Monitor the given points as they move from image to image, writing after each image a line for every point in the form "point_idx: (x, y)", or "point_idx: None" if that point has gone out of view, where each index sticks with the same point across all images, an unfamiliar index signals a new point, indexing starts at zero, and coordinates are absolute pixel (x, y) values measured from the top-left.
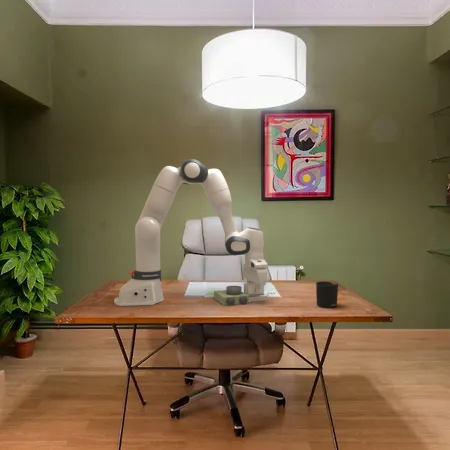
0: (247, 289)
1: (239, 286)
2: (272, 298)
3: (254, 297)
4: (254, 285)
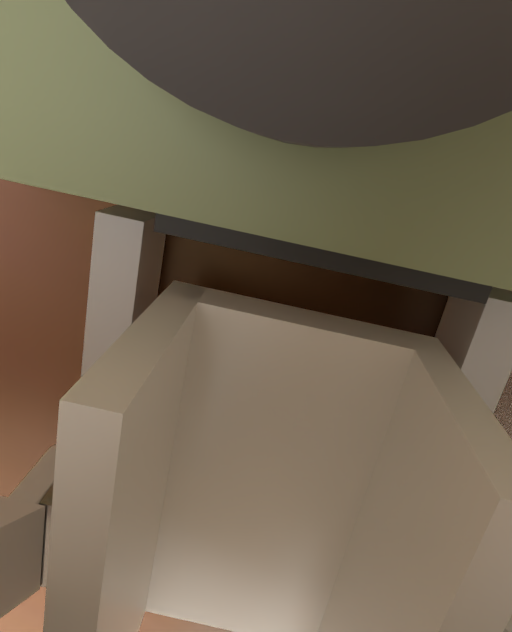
0: (400, 455)
1: (349, 93)
2: (156, 628)
3: (85, 355)
4: (52, 597)
